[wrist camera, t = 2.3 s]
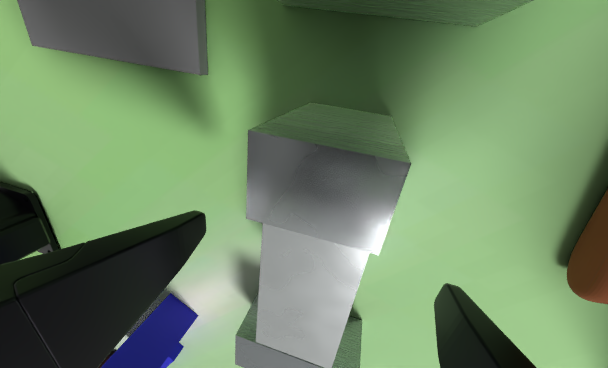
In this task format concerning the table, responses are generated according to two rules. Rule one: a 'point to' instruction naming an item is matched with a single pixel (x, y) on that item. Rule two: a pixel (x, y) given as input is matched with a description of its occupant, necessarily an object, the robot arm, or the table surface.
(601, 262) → the kitchen knife
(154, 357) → the blue stepped block
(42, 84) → the table surface
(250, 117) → the table surface
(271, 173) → the steel bar
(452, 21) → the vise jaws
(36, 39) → the mat
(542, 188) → the table surface
